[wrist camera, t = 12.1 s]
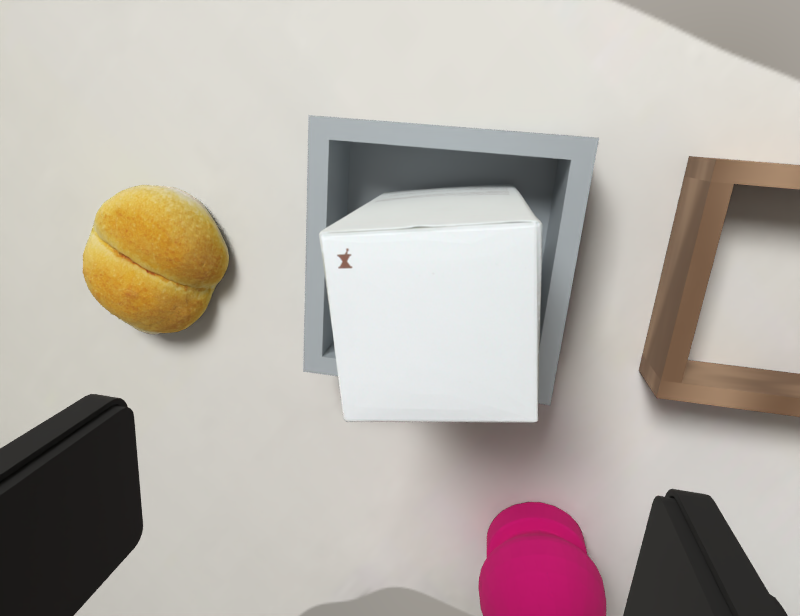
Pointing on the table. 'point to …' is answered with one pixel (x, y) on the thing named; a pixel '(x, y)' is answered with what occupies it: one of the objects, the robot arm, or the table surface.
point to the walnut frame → (686, 290)
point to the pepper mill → (538, 566)
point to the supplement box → (437, 306)
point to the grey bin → (437, 168)
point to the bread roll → (154, 258)
